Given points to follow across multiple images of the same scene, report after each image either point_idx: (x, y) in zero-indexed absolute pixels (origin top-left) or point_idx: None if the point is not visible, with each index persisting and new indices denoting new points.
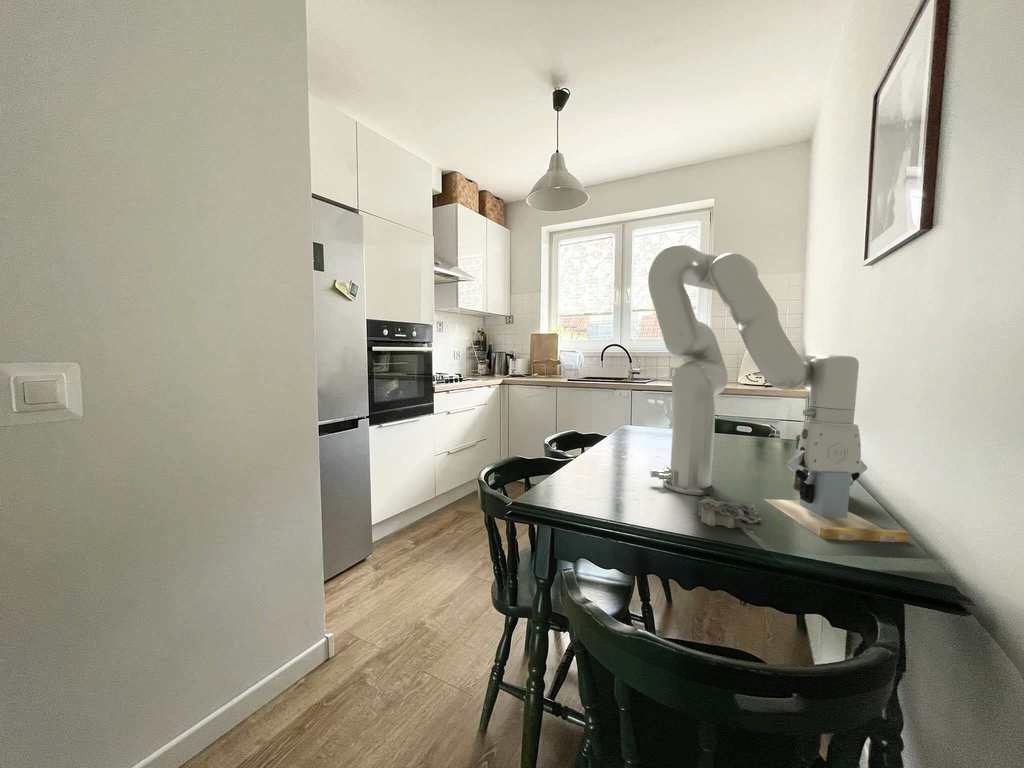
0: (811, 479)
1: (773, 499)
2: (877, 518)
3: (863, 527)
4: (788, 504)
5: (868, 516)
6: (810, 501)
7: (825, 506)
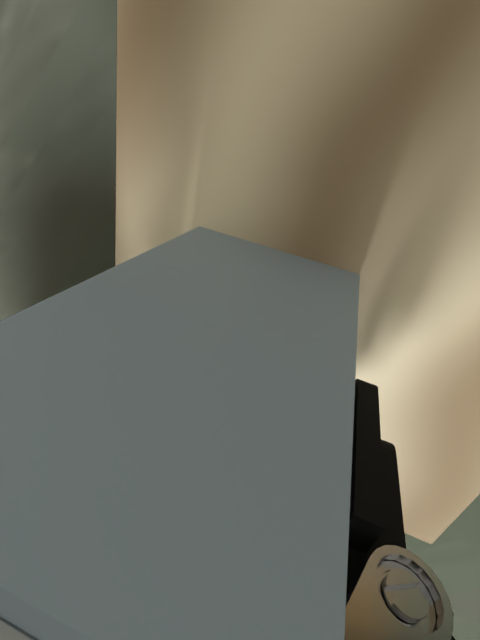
0: (372, 607)
1: None
2: (16, 259)
3: (236, 37)
4: None
5: (37, 285)
6: (373, 390)
7: (333, 294)
